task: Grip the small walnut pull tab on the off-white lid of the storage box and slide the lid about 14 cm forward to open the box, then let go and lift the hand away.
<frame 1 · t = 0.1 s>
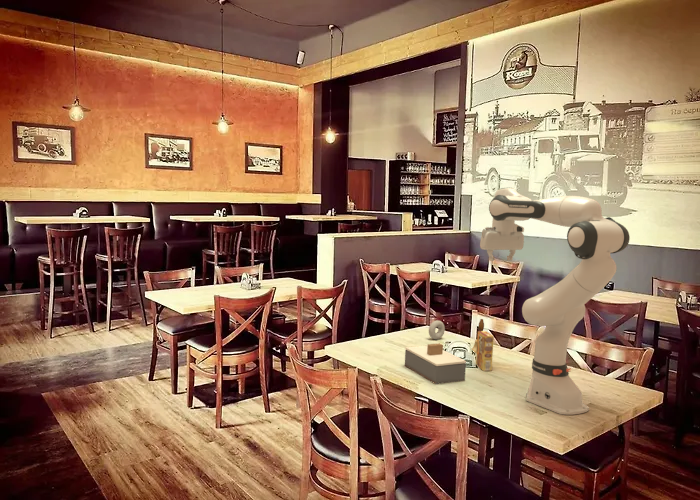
hand: (500, 260, 224), 48 cm above the table, tool pointing down, fingers open, 8 cm apart
candy box: (483, 368, 235), on the table
lid: (434, 350, 224), point 10 cm above the table, slide at 0.0 cm
donut: (436, 339, 279), on the table
hand bell: (479, 352, 259), on the table
storage box: (433, 372, 225), on the table
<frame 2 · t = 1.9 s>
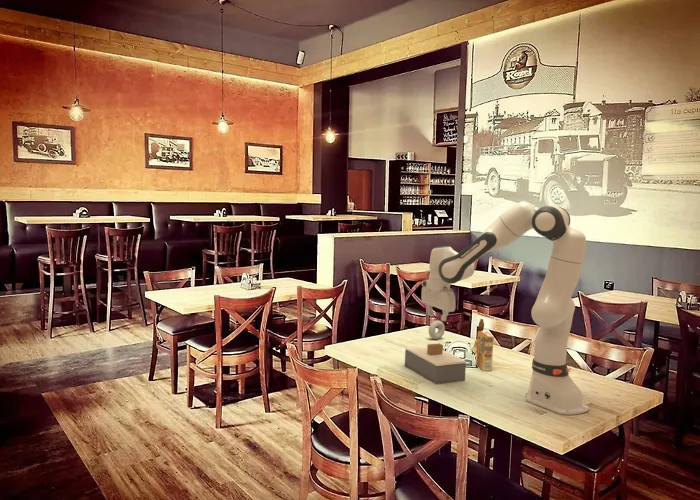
hand: (436, 317, 223), 23 cm above the table, tool pointing down, fingers open, 8 cm apart
nothing on the table moved.
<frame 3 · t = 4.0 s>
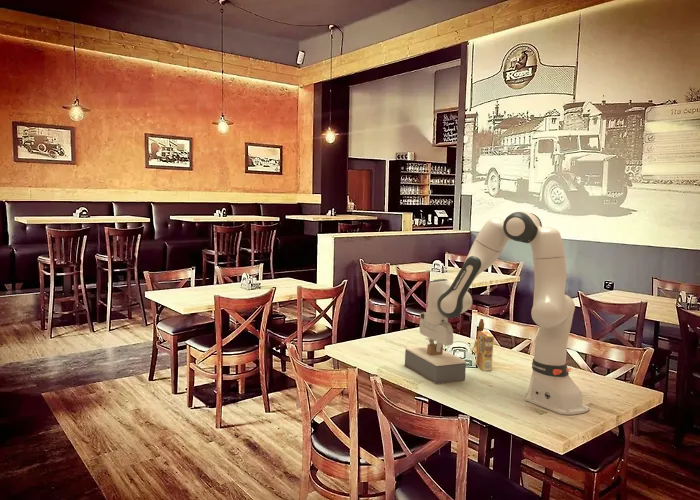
hand: (435, 350, 224), 10 cm above the table, tool pointing down, fingers closed on lid, 2 cm apart
lid: (434, 350, 224), point 10 cm above the table, slide at 0.0 cm, touching gripper
everything else where it was.
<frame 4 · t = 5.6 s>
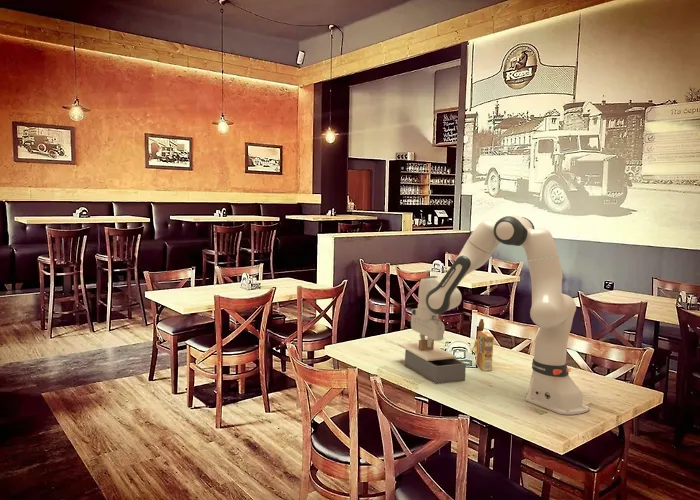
hand: (425, 345, 230), 10 cm above the table, tool pointing down, fingers closed on lid, 2 cm apart
lid: (426, 345, 230), point 10 cm above the table, slide at 6.8 cm, touching gripper
everything else where it was.
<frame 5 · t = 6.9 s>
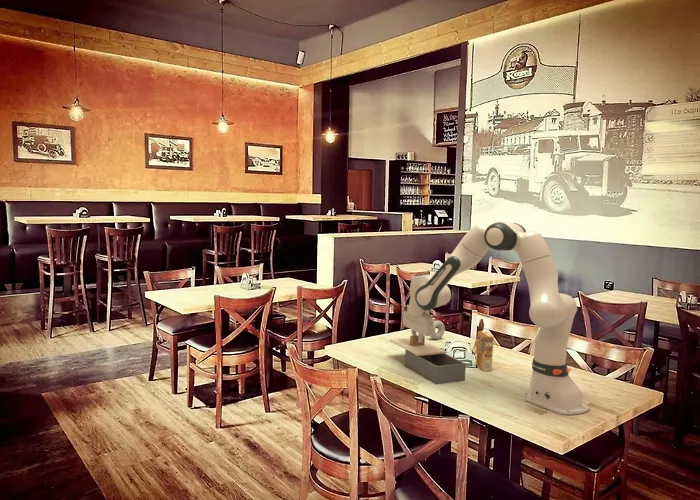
hand: (417, 340, 237), 10 cm above the table, tool pointing down, fingers closed on lid, 2 cm apart
lid: (417, 341, 237), point 10 cm above the table, slide at 14.0 cm, touching gripper
everything else where it was.
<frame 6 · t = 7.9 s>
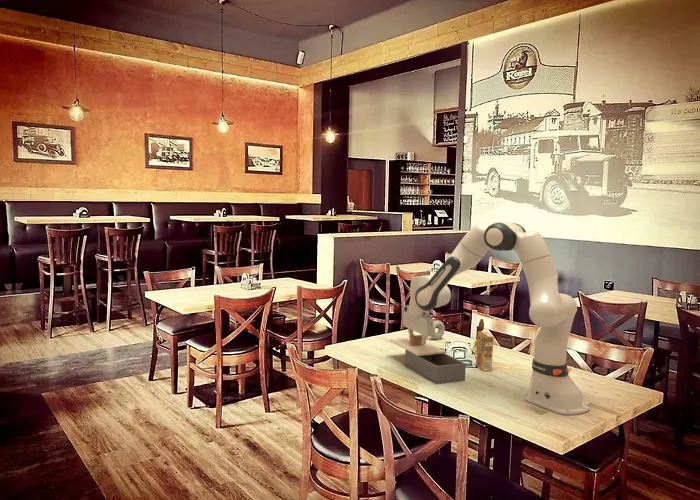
hand: (417, 341, 237), 10 cm above the table, tool pointing down, fingers open, 8 cm apart
lid: (417, 341, 237), point 10 cm above the table, slide at 14.1 cm
everything else where it was.
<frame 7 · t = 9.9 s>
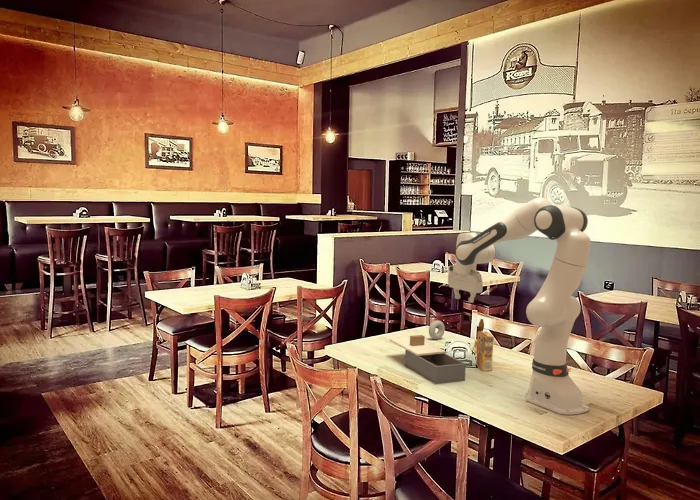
hand: (464, 300, 236), 29 cm above the table, tool pointing down, fingers open, 8 cm apart
nothing on the table moved.
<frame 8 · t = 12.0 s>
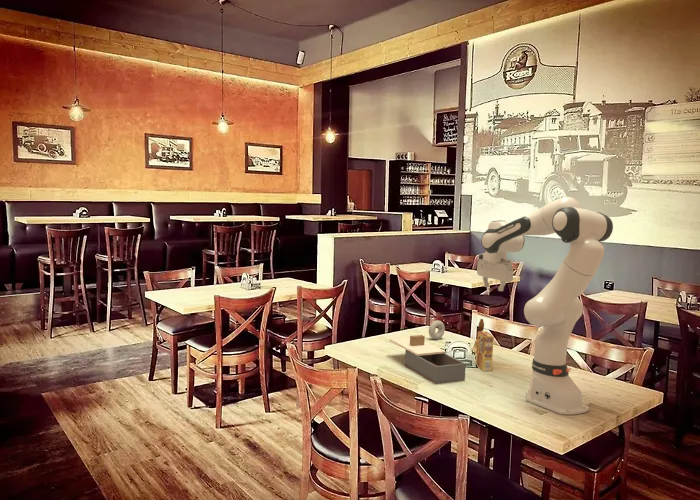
hand: (493, 288, 236), 34 cm above the table, tool pointing down, fingers open, 8 cm apart
nothing on the table moved.
at the end: lid slide at 14.1 cm; the gripper is holding nothing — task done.
